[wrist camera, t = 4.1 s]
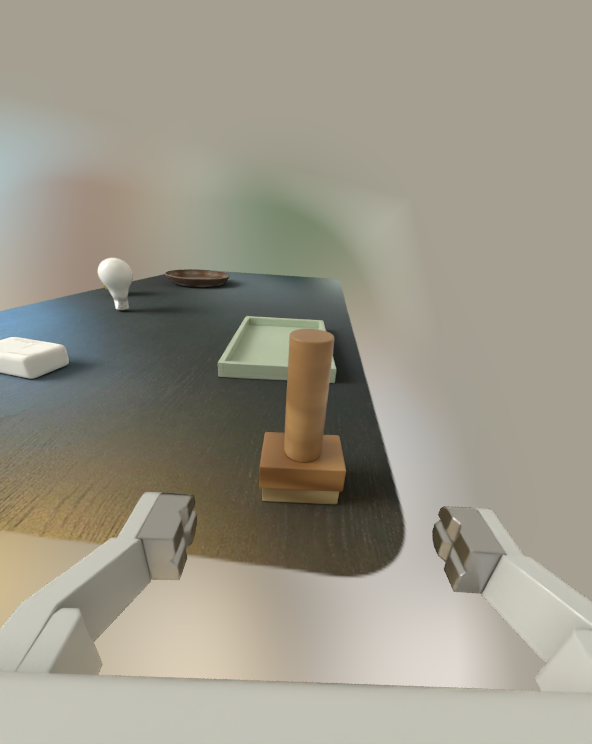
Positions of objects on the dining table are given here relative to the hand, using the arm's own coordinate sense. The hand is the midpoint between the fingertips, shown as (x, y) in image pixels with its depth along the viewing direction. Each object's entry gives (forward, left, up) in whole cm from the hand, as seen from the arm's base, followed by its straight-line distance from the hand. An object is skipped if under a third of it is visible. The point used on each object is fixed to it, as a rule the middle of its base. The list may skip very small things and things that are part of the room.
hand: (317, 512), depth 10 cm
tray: (+3, -41, -10) cm, 42 cm away
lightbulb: (+39, -59, -10) cm, 71 cm away
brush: (0, -11, -10) cm, 15 cm away
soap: (+36, -29, -10) cm, 47 cm away
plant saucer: (+34, -99, -10) cm, 105 cm away
